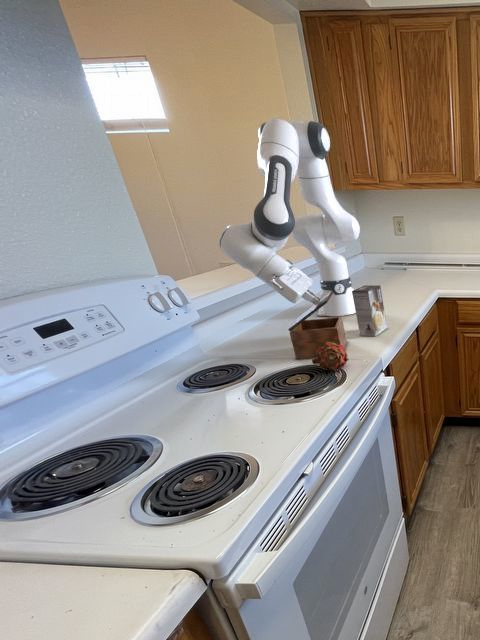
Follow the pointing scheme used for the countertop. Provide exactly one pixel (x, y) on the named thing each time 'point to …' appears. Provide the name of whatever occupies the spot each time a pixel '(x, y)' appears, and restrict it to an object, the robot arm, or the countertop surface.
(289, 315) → the countertop surface
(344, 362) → the dragon fruit
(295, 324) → the lid
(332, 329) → the chest
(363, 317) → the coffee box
